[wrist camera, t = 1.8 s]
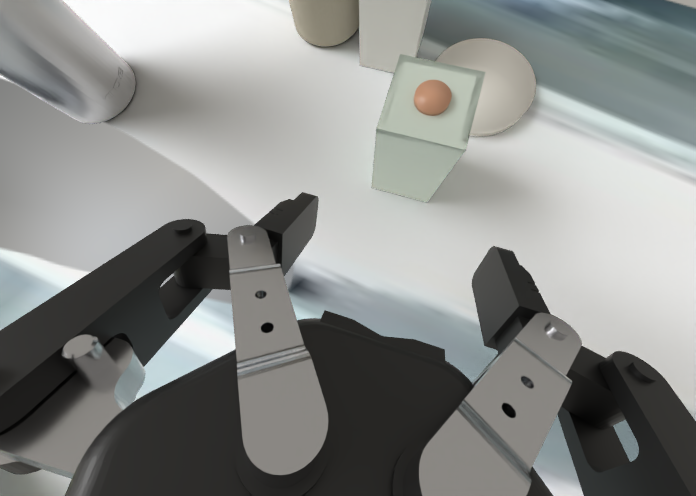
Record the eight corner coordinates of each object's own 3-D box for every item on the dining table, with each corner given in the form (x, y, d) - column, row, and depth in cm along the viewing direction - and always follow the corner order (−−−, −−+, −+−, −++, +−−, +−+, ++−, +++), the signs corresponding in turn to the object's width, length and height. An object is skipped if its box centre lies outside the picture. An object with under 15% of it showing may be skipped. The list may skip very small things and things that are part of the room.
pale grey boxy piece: (371, 187, 27) (376, 124, 17) (386, 137, 28) (400, 48, 18) (427, 202, 27) (468, 146, 16) (441, 151, 27) (488, 66, 17)
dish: (415, 122, 28) (417, 115, 27) (439, 39, 30) (442, 29, 29) (517, 147, 27) (524, 140, 26) (537, 59, 29) (544, 49, 27)
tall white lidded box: (359, 65, 30) (358, -47, 20) (374, 23, 31) (379, -105, 21) (410, 76, 29) (435, -34, 19) (423, 33, 30) (453, -94, 20)
